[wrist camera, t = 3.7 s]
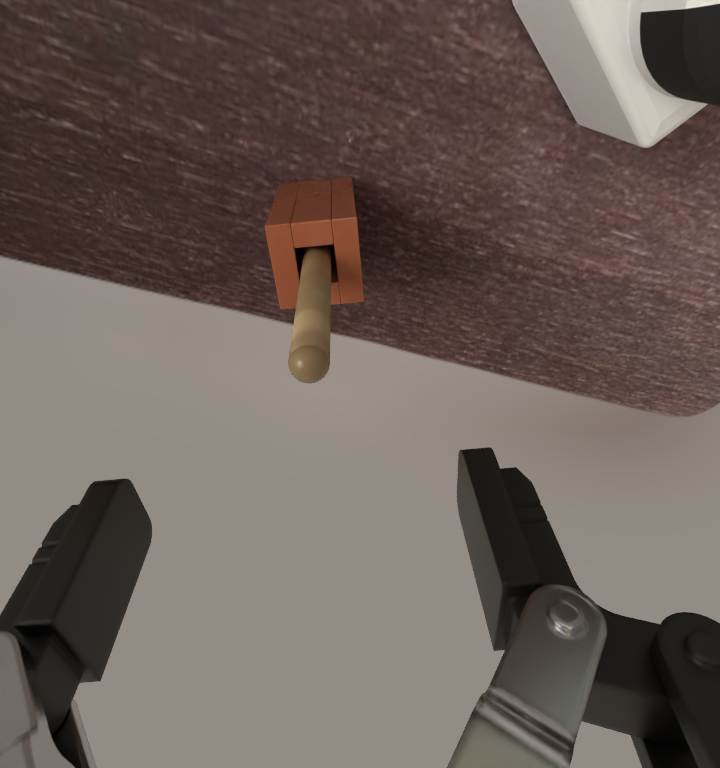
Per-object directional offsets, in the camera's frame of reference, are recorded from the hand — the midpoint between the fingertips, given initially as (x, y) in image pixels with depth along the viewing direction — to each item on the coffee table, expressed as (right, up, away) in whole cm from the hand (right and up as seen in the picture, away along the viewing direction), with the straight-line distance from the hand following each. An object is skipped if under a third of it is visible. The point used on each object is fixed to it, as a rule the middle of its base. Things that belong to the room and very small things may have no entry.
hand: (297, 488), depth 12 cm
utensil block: (-1, +13, +18) cm, 22 cm away
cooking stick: (-1, +13, +18) cm, 22 cm away
